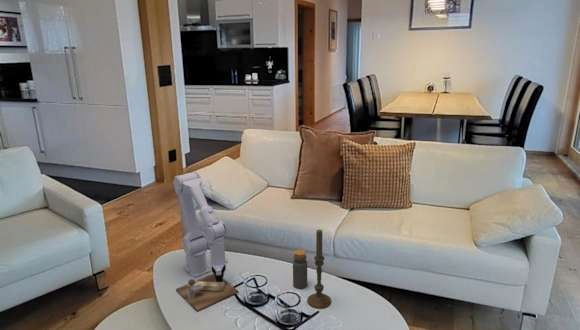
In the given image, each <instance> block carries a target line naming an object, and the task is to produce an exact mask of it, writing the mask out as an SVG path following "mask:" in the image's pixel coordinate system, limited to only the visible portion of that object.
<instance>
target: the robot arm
mask: <svg viewBox="0 0 580 330" xmlns="http://www.w3.org/2000/svg"><path fill="white" fill-rule="evenodd" d="M172 184H173V187H174V192H175V194H176V196H179V201H180V206H181V209H182V212H183V213H182V215H183V219H184V222H185V226H186V231H187V232H186V234H185V235H184V236H183V237H182V242H183V243H182V244H183V245H182V246H183V247H182V249H183V251H184V253H185V263H186V267H184V270H185V271H186V272H187V273H188V274H190V275H191V276H192V277H193V278H197V277H199V276H201V275H204V274H207V273H209V272H212V274H214V275H215V278H216V281H217V282H222V281H223V279H224V274H225V272H226V271H227V270H226V269H227V267H226V264H229V259H227V258H226V251H225V250H226V249H225V237H224V236H225V235H227V227H226V224H225V223H224V221H222V220H221V219H220V218H219V217H218V216H217V214H216V212H215V210H214V208H213V207H212V206H210V205H209V204H208V202H207V199H206V197H205V195H204V192H203V189H202V179H201V175H200V174H199V173H198V171H192V172H189V173H185V174H179V175H175V176H174V178H173V180H172ZM194 202H195V203H196V205H197V207H198V209H199V213H198V214H199V216H200V218H201V220H202V222H203V225H204V226H205V231H203V230H201V229H200V226H199V222H198V216H197V213H196V208H195V205H194ZM208 249H209V253H210V266H211V269H210V268H209V267H208V265H207V254H206V252H207V251H208Z"/></svg>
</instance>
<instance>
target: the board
mask: <svg viewBox="0 0 580 330" xmlns="http://www.w3.org/2000/svg"><path fill="white" fill-rule="evenodd" d="M196 281H203V282H217V281H216V278H215V275H214V273H212V274H210V275H207V276H205V277H202V278H200V279H199V278H198V279H197V280H196ZM222 282H224V283H225V287H224V290H223V291H211V290H200V291H197V292H194V293H195V299H193V300H189V299H188V297H187V291H186V289H187V288H188V283H187V284H185V285H182V286H180V287H177V288H175V291H176V292H177V293H178V294H179V295H180V297H182V298H183V299H184V300H185V301H186V302H187V304H188V305H189V306H190V307H192V309H194V311H195V312H197V313H198V312H201V311H202V310H205V309H207V308H209V307H211V306H213V305H214V306H215V305H216V304H218V303H220V302H222V301H225V300H227V299H229V298H231V297H233V296H235V295H234V294H235V293H238V294H239V290H238V289H237V288H235V286H233V285H232V284H231V283H229V282H228V281H227V280H226V279H224V278H223V281H222Z"/></svg>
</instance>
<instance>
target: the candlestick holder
mask: <svg viewBox="0 0 580 330" xmlns="http://www.w3.org/2000/svg"><path fill="white" fill-rule="evenodd" d="M315 232H316V234H315V235H316V236H315V237H316V242H315V243H316V245H315V248H316V250H315V252H316V255H315V256H314V257H313V260H314V265H315V266H316V284H315V285H314V290H315V293H312V294H310V295H308V297H307V300H306V303H307V304H308V306H310V307H312V308H313V309H319V310H320V309H326V308H329V306H330V305H331V304H332V300H331V297H330V296H329V295H327V294H326V293H323V291H324V284H322V274H323V271H322V270H323V268H322V266H324V264H325V263H324V261H325V256H324V255H323V230H322V229H317V230H316V231H315Z"/></svg>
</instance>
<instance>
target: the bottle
mask: <svg viewBox="0 0 580 330" xmlns="http://www.w3.org/2000/svg"><path fill="white" fill-rule="evenodd" d="M293 252H294V253H293V261H292V286H293V287H294V288H295V289H297V290H303V289H306V288H307V287H308V261H307V254H306V253H307V252H306V250H304V249H302V248H301V249H300V248H299V249H295V250H294V251H293Z"/></svg>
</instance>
